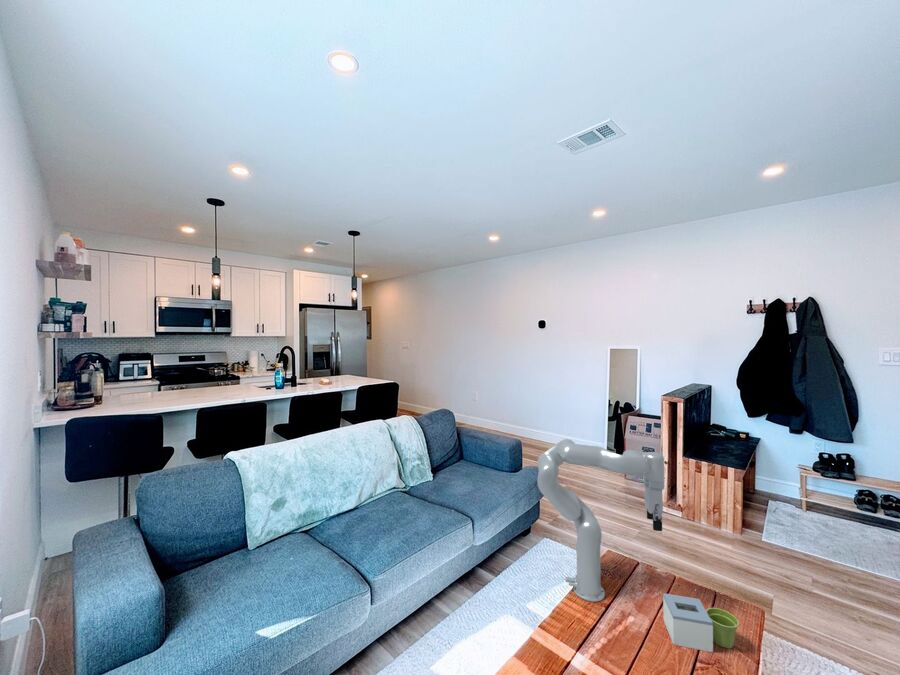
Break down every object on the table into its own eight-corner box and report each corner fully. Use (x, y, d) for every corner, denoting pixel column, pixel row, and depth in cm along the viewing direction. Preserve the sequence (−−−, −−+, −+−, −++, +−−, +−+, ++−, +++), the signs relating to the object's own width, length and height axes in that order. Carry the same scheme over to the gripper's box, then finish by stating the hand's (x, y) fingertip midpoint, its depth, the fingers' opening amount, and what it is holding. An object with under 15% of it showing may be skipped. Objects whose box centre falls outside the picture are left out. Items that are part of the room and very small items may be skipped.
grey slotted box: (673, 644, 128) (673, 615, 128) (663, 619, 140) (663, 593, 140) (713, 652, 125) (712, 622, 125) (699, 626, 137) (699, 599, 137)
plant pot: (700, 636, 132) (699, 611, 132) (716, 628, 136) (716, 604, 136) (728, 656, 123) (728, 630, 123) (745, 647, 127) (744, 622, 127)
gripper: (639, 474, 161) (639, 514, 161) (649, 490, 145) (649, 533, 144) (658, 476, 159) (658, 516, 159) (670, 492, 143) (671, 536, 142)
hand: (654, 524), depth 152 cm, fingers open, 9 cm apart
